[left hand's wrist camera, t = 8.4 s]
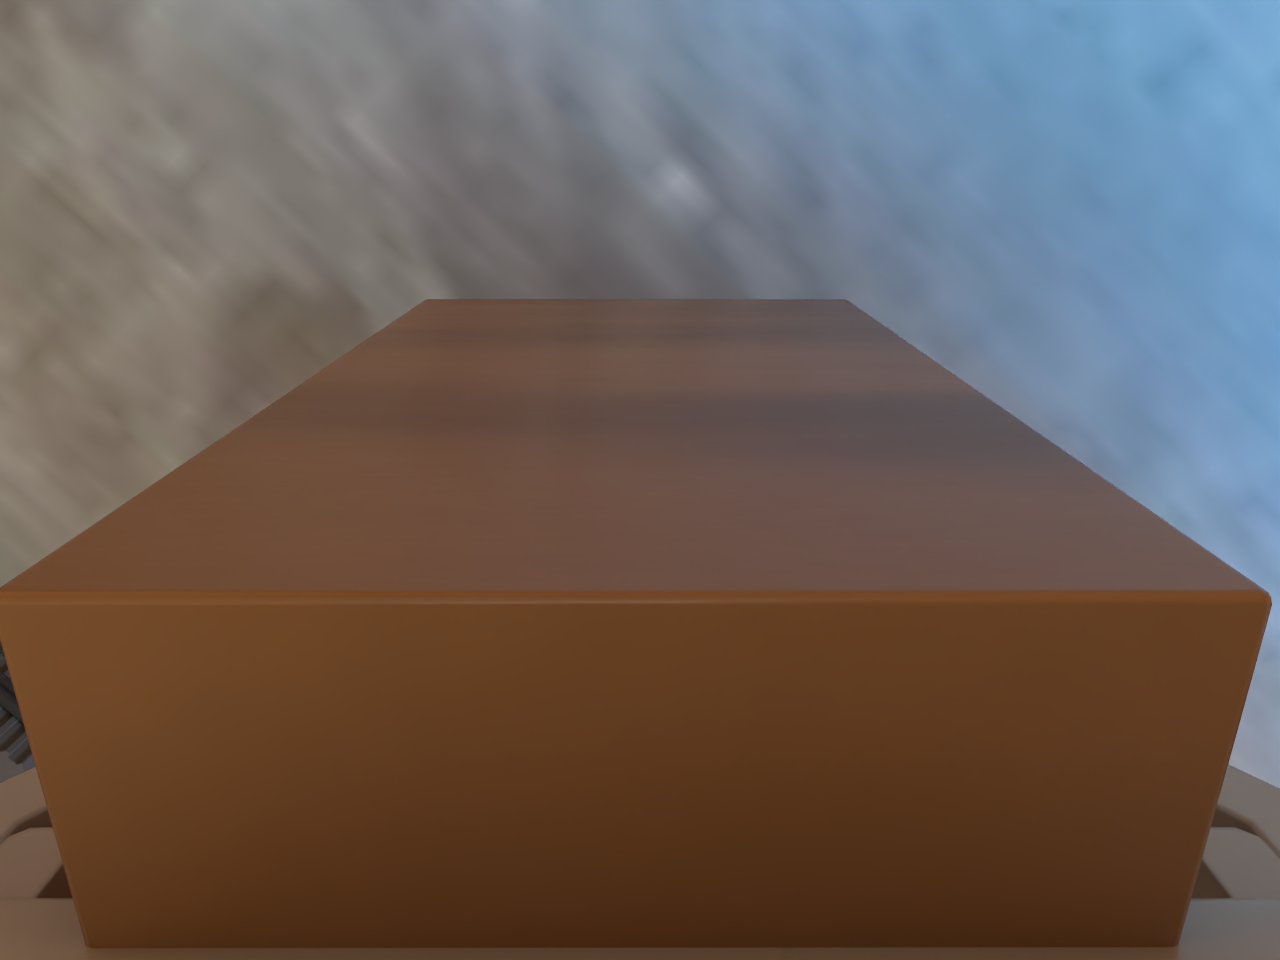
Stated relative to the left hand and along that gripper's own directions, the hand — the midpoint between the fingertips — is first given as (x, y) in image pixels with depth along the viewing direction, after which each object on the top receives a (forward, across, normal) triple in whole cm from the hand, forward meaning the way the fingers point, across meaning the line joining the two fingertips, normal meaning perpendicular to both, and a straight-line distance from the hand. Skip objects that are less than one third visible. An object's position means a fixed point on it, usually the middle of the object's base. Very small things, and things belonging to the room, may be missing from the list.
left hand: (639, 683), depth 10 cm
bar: (+4, 0, -10) cm, 11 cm away
